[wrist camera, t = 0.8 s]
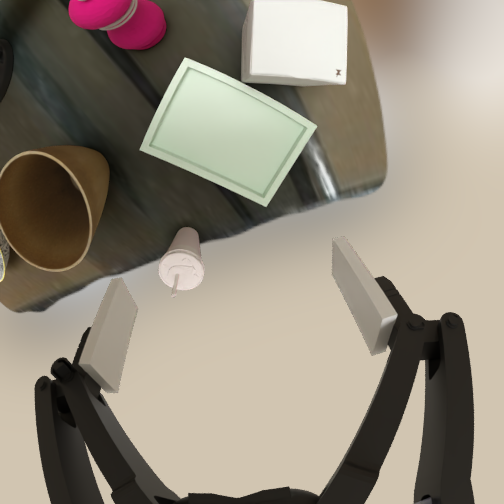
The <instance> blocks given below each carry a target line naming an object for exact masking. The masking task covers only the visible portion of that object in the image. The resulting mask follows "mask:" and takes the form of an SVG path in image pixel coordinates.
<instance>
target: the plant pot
mask: <svg viewBox="0 0 504 504" xmlns="http://www.w3.org/2000/svg"><path fill="white" fill-rule="evenodd" d="M109 176H110V171H109V165H108V163H107V160H106V159H105V157H104V156H103V155H102V154H101V153H99V152H98V151H96V150H93V149H90V148H86V147H82V146H72V145H60V146H50V147H44V148H39V149H34V150H30V151H26V152H23V153H20V154H18V155H16V156H15V157H13V158H12V159H11V160H10V161H8V163H7V164H6V165H5V166H4V168H3V169H2V171H1V173H0V228H1V231H2V233H3V235H4V236H5V238H6V240H7V242H8V243H9V244H10V246H11V247H12V248H13V250H14V251H15V252H16V253H17V254H18V255H19V256H20V257H21V258H23V259H24V260H25V261H26V262H28V263H29V264H31V265H33V266H35V267H37V268H40V269H43V270H46V271H52V272H59V271H65V270H68V269H71V268H73V267H74V266H76V265H77V264H78V263H80V262H81V260H82V259H83V258H84V257H85V255H86V253H87V251H88V249H89V246H90V244H91V241H92V239H93V236H94V234H95V231H96V229H97V226H98V224H99V221H100V218H101V215H102V212H103V208H104V205H105V201H106V197H107V192H108V186H109Z"/></svg>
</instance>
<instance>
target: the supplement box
mask: <svg viewBox="0 0 504 504" xmlns="http://www.w3.org/2000/svg"><path fill="white" fill-rule="evenodd" d="M346 68H347V6H343V5H339V4H335V3H330V2H326V1H321V0H251V2H250V5H249V9H248V12H247V15H246V19H245V22H244V25H243V28H242V56H241V82H242V83H262V84H279V85H292V86H317V85H344V84H346Z"/></svg>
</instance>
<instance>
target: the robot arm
mask: <svg viewBox="0 0 504 504" xmlns="http://www.w3.org/2000/svg"><path fill="white" fill-rule="evenodd" d="M12 69H13V51H12V48H11V45H10V44H9V42H8V41H6V40H5V39H0V102H1V100H2V98H3V96H4V94H5V92H6V90H7V88H8V85H9V82H10V78H11V74H12ZM332 251H333V252H332V253H333V255H332V256H333V257H332V275H333V277H334V279H335V281H336V283H337V285H338V287H339V289H340V291H341V293H342V295H343V297H344V299H345V301H346V302H347V305H348V307H349V309H350V311H351V313H352V315H353V317H354V319H355V321H356V323H357V325H358V327H359V329H360V331H361V333H362V335H363V338H364V340H365V342H366V344H367V346H368V348H369V350H370V353H371V355H372V356H373V355H376V354H379V353H382V352H385V351H386V348H387V345H388V346H389V347H390V349H391V352H390V355H389V357H388V360H387V364H386V367H385V369H384V372H383V374H382V377H381V380H380V382H379V385H378V387H377V390H376V392H375V394H374V397H373V399H372V401H371V404H370V406H369V408H368V410H367V413H366V415H365V417H364V419H363V421H362V423H361V426H360V427H359V429H358V431H357V433H356V436H355V437H354V439H353V441H352V443H351V445H350V447H349V449H348V450H347V453H346V454H345V456H344V458H343V460H342V461H341V463H340V465H339V466H338V468H337V470H336V471H335V473H334V474H333V476H332V478H331V479H330V481H329V482H328V484H327V485H326V487H325V488H324V490H323V491H322V493H321V494H320V496H317V495H316V494H314V493H311V492H309V491H305V490H300V489H290V488H289V487H283V488H276V489H269V490H262V491H260V492H257V493H254V494H250V495H247V496H244V497H241V498H233V497H227V496H222V495H217V494H212V493H210V494H206V493H204V494H200V493H198V494H197V493H188V497H185V498H182V499H180V498H179V497H178V496H177V495H176V494H175V493H174V492H172V491H171V490H170V489H168V488H167V487H166V486H165V485H164V484H163V483H162V481H161V480H160V479H159V478H158V477H157V476H156V474H155V473H154V472H153V470H152V469H151V468H150V467H149V465H148V464H147V463H146V461H145V460H144V459H143V457H142V456H141V455H140V453H139V452H138V451H137V449H136V448H135V446H134V445H133V443H132V442H131V441H130V439H129V438H128V436H127V435H126V433H125V432H124V430H123V429H122V427H121V425H120V424H119V422H118V421H117V419H116V417H115V416H114V414H113V413H112V411H111V409H110V408H109V406H108V404H107V402H106V401H105V399H104V397H103V395H102V394H101V393H100V390H101V388H102V389H103V390H104V391H106V392H107V393H118V390H119V385H120V380H121V375H122V371H123V366H124V362H125V357H126V353H127V349H128V345H129V341H130V337H131V334H132V329H133V326H134V322H135V318H136V315H137V311H138V308H137V306H136V304H135V302H134V300H133V298H132V297H131V295H130V293H129V291H128V289H127V287H126V285H125V283H124V281H123V279H122V278H116V279H112V280H111V282H110V284H109V287H108V289H107V291H106V293H105V296H104V299H103V300H102V303H101V305H100V308H99V310H98V312H97V315H96V317H95V320H94V322H93V325H92V327H88V328H87V330H86V331H85V332H84V334H83V336H82V339H81V342H80V344H79V348H78V349H77V352H76V355H75V357H74V360H73V363H72V364H71V363H70V362H69V361H68V360H67V358H59V359H57V360H56V361H55V362H54V363H53V365H52V367H51V374H52V375H53V376H54V377H55V378H56V380H51V379H49V378H48V377H47V376H42V377H40V378H39V379H38V380H37V382H36V384H35V412H36V426H37V434H38V442H39V450H40V457H41V462H42V467H43V472H44V478H45V482H46V486H47V490H48V494H49V498H50V501H51V504H104V502H103V499H102V497H101V494H100V491H99V489H98V486H97V483H96V480H95V477H94V474H93V471H92V467H91V464H90V461H89V457H88V453H87V449H86V446H85V443H86V445H87V447H88V449H89V451H90V452H91V455H92V456H93V458H94V460H95V462H96V464H97V465H98V467H99V469H100V471H101V472H102V474H103V475H104V477H105V479H106V480H107V482H108V484H109V485H110V487H111V488H112V491H113V492H112V494H111V497H112V499H113V501H114V503H115V504H364V503H365V501H366V500H367V498H368V496H369V495H370V493H371V491H372V489H373V487H374V485H375V484H376V481H377V479H378V477H379V471H380V468H381V466H382V464H383V462H384V459H385V458H386V455H387V453H388V451H389V448H390V447H391V444H392V442H393V440H394V437H395V435H396V432H397V430H398V427H399V424H400V422H401V419H402V416H403V414H404V411H405V408H406V405H407V402H408V399H409V396H410V393H411V390H412V387H413V383H414V379H415V376H416V373H417V369H418V365H419V361H420V360H425V371H426V372H425V373H426V374H425V377H426V378H425V387H426V388H425V412H424V426H423V437H422V445H421V453H420V461H419V466H418V472H417V477H416V483H415V490H414V504H475V503H474V496H473V490H472V485H471V480H470V477H471V469H472V458H473V443H474V404H473V386H472V376H471V367H470V358H469V351H468V345H467V339H466V333H465V328H464V323H463V321H462V318H461V317H460V316H459V315H457V314H455V313H452V312H448V313H445V314H444V315H443V316H442V317H441V319H440V320H432V321H428V320H425V319H424V318H423V317H421V316H420V315H417V314H413V313H412V311H411V310H410V308H409V307H408V305H407V304H406V302H405V301H404V299H403V298H402V296H401V295H400V294H399V292H398V290H396V288H395V286H394V285H393V283H392V282H391V281H390V280H388V279H387V278H385V277H384V276H382V277H378V278H374V277H373V276H372V274H371V273H370V271H369V270H368V269H367V267H366V266H365V264H364V263H363V261H362V260H361V258H360V257H359V256H358V254H357V253H356V251H355V250H354V249H353V247H352V246H351V244H350V243H349V242H348V240H347V239H346V238H345V237H344V236H343V237H337V238H333V250H332ZM84 441H85V442H84Z"/></svg>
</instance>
